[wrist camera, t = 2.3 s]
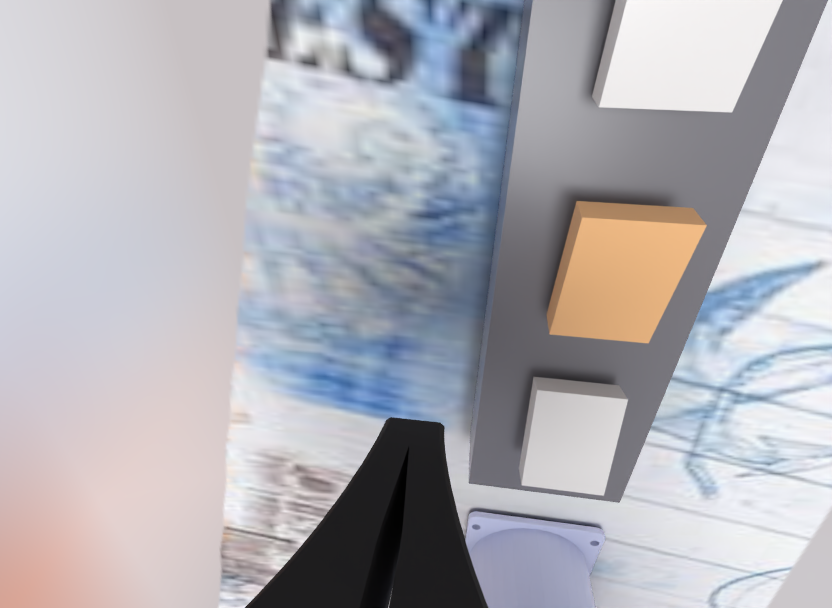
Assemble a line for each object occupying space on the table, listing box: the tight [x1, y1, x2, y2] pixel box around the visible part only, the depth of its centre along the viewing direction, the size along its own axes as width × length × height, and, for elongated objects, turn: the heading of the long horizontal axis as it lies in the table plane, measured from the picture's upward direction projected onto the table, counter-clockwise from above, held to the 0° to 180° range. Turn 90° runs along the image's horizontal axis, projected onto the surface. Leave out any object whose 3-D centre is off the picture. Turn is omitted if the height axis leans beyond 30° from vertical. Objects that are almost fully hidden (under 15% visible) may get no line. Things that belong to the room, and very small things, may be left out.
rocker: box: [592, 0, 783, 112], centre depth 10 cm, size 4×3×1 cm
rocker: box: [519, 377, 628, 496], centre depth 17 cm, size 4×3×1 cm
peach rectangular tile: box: [547, 201, 707, 343], centre depth 13 cm, size 4×3×1 cm
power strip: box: [469, 0, 828, 502], centre depth 15 cm, size 26×7×3 cm, turn 179°
